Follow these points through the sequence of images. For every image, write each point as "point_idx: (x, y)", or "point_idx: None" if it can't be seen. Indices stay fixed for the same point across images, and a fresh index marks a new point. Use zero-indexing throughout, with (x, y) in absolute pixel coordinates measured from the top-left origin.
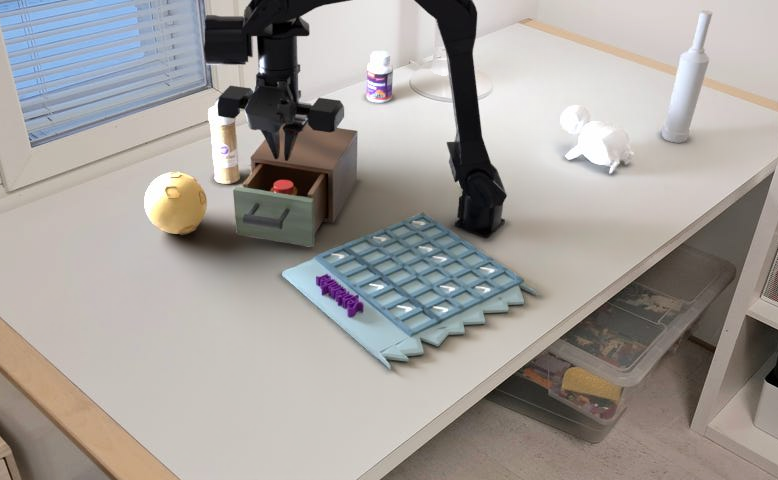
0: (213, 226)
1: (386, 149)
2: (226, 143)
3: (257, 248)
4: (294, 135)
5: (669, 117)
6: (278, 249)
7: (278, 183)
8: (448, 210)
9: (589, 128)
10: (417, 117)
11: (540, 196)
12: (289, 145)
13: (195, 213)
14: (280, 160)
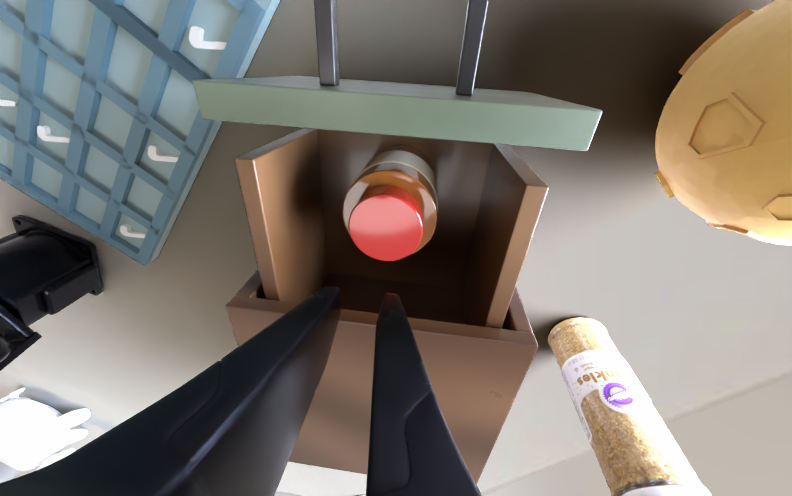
0: (602, 143)
1: None
2: (618, 416)
3: (455, 53)
4: (62, 458)
5: (2, 472)
6: (394, 65)
7: (404, 233)
8: (138, 289)
9: (16, 458)
10: (305, 472)
11: (53, 337)
12: (236, 356)
13: (739, 44)
14: (419, 338)
